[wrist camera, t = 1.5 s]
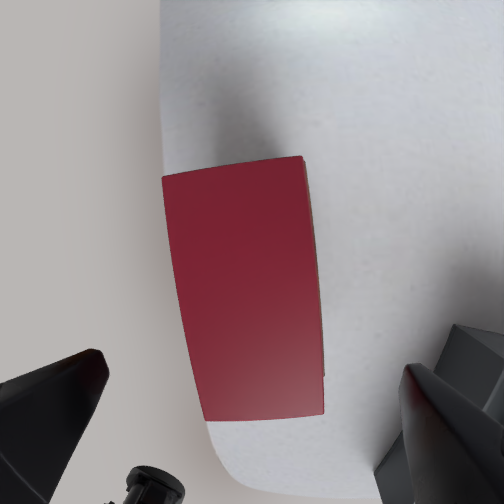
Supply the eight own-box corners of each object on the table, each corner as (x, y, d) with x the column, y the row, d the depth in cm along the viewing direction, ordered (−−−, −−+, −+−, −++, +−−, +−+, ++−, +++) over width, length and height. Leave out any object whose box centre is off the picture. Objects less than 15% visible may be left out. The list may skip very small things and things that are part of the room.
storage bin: (373, 473, 25) (389, 527, 17) (453, 323, 23) (506, 361, 14) (481, 464, 24) (505, 500, 16) (549, 343, 22) (590, 367, 13)
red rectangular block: (315, 370, 15) (324, 414, 11) (220, 377, 15) (204, 422, 11) (296, 171, 14) (302, 154, 10) (191, 186, 14) (160, 176, 10)
